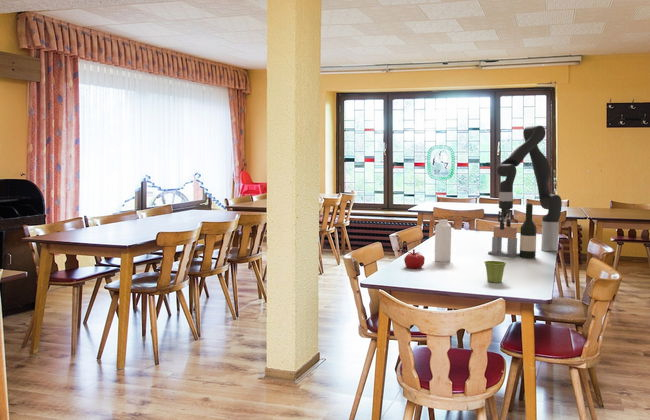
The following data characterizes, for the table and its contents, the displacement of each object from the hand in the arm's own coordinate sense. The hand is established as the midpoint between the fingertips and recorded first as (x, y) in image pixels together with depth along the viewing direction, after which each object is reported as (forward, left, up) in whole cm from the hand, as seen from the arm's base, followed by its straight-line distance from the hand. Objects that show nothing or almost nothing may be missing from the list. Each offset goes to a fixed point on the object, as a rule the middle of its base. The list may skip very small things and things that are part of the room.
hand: (505, 228), depth 354 cm
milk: (+40, -17, -15) cm, 46 cm away
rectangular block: (0, 0, -5) cm, 5 cm away
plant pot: (+73, +27, -15) cm, 79 cm away
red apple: (+67, -18, -15) cm, 71 cm away
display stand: (0, 0, -15) cm, 15 cm away
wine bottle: (-1, +13, -15) cm, 20 cm away
